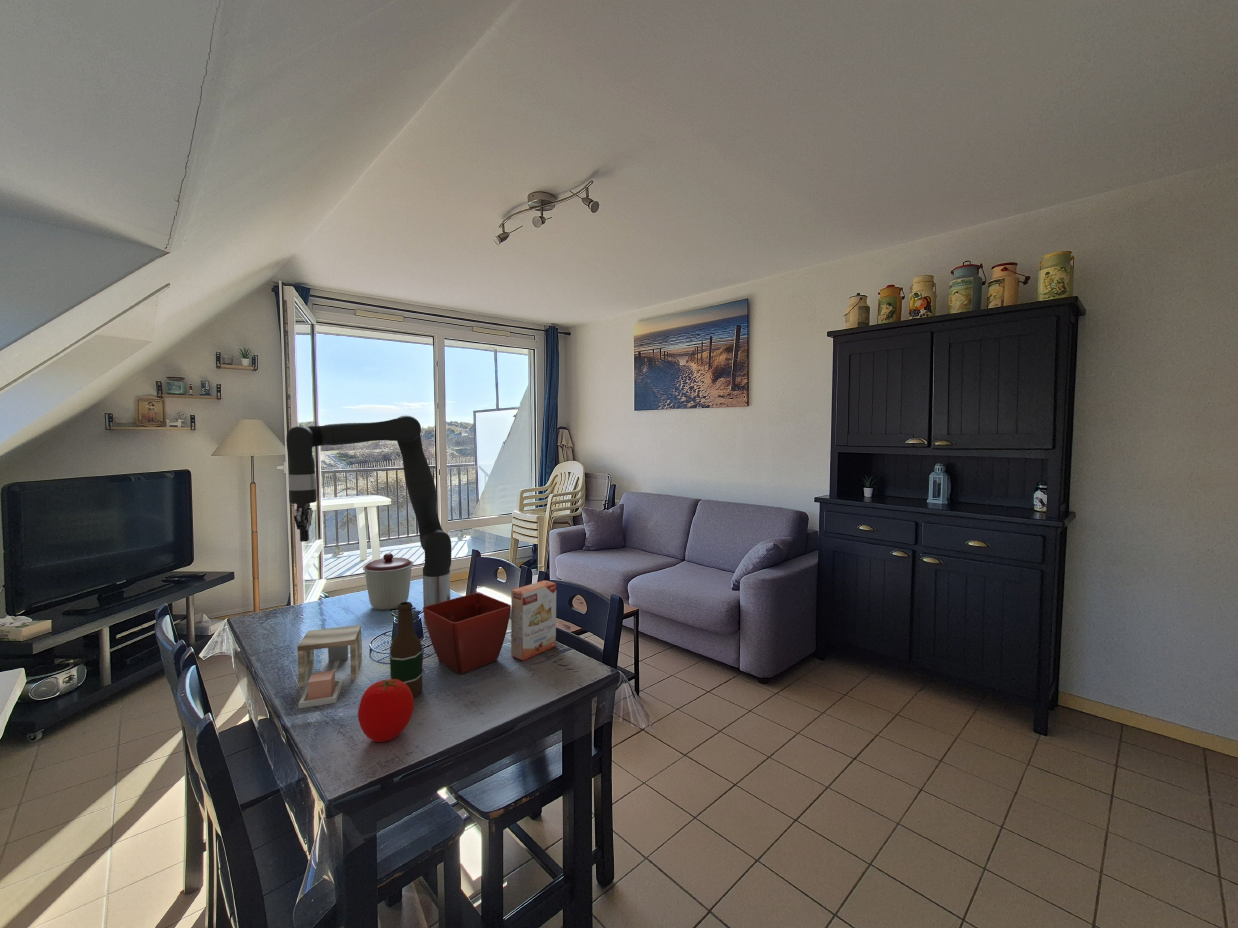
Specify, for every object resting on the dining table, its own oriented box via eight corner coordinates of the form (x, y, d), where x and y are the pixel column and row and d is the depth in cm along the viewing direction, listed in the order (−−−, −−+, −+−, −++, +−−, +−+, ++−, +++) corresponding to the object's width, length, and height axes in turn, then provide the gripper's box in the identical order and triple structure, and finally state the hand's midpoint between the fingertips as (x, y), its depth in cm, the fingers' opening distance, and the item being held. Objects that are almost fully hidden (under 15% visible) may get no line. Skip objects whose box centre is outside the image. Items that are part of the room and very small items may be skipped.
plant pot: (422, 661, 148) (421, 606, 147) (478, 642, 162) (478, 591, 161) (454, 683, 135) (453, 623, 134) (513, 660, 149) (512, 605, 148)
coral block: (335, 688, 129) (334, 669, 129) (331, 698, 125) (330, 678, 124) (313, 691, 128) (312, 672, 127) (308, 701, 123) (307, 682, 123)
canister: (417, 608, 193) (416, 555, 192) (365, 617, 184) (363, 561, 183) (410, 595, 209) (409, 546, 207) (362, 602, 200) (361, 551, 198)
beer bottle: (402, 703, 125) (400, 610, 124) (384, 695, 129) (381, 604, 128) (429, 690, 132) (427, 601, 130) (410, 682, 136) (408, 596, 134)
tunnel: (309, 673, 141) (308, 630, 140) (362, 666, 145) (361, 624, 144) (299, 692, 130) (297, 646, 130) (356, 683, 135) (354, 639, 134)
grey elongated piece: (323, 664, 145) (322, 639, 145) (354, 659, 148) (353, 635, 148) (298, 712, 120) (297, 682, 120) (336, 706, 123) (335, 676, 122)
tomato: (347, 744, 108) (345, 688, 108) (386, 718, 118) (385, 666, 118) (386, 757, 104) (385, 698, 104) (423, 728, 114) (422, 674, 114)
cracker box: (523, 662, 148) (522, 593, 147) (510, 656, 152) (509, 589, 151) (557, 646, 159) (557, 582, 158) (544, 641, 163) (544, 578, 162)
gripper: (311, 489, 156) (312, 544, 157) (320, 485, 168) (322, 536, 169) (283, 490, 153) (285, 546, 154) (295, 486, 165) (296, 537, 167)
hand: (304, 540), depth 162 cm, fingers closed
